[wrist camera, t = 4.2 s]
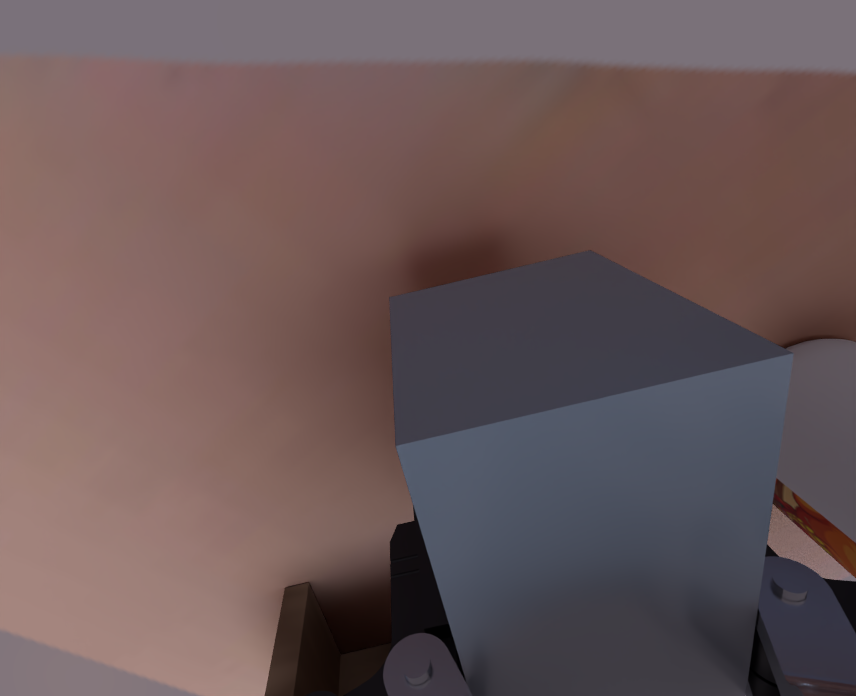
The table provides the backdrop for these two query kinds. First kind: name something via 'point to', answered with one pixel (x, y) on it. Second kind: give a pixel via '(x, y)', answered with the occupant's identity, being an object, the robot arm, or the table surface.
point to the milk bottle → (821, 447)
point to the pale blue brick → (589, 477)
